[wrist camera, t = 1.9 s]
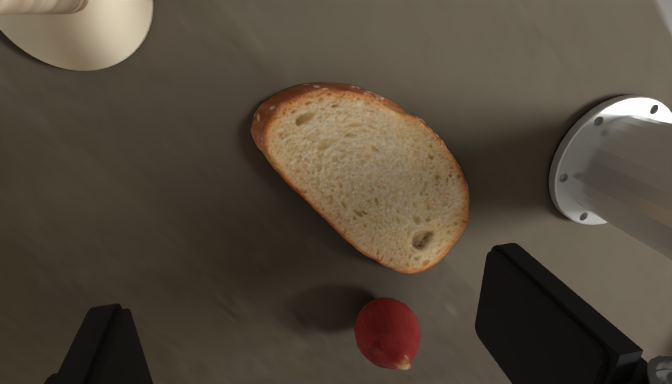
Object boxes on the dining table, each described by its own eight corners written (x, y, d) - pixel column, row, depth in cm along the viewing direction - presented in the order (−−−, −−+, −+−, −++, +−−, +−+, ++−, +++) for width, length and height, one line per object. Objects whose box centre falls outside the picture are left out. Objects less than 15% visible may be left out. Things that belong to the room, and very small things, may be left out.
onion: (367, 336, 41) (393, 405, 34) (334, 305, 38) (355, 373, 31) (413, 303, 40) (449, 366, 33) (382, 269, 38) (415, 330, 30)
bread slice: (243, 88, 29) (243, 99, 25) (473, 64, 32) (500, 71, 28) (276, 287, 36) (279, 315, 33) (458, 253, 39) (478, 276, 36)
